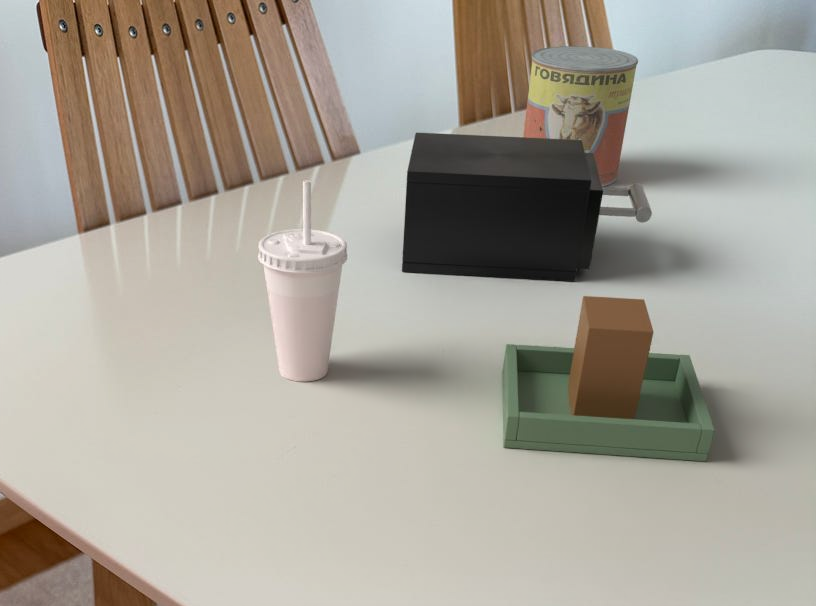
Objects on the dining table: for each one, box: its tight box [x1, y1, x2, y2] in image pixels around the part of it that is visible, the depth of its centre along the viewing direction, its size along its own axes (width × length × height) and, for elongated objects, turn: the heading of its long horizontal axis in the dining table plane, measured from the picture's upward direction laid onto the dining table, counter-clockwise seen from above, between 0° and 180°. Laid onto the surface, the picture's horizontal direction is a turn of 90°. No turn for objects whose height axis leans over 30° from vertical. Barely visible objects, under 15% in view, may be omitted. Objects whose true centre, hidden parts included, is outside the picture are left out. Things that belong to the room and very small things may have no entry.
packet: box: [568, 295, 654, 419], centre depth 73 cm, size 4×6×7 cm
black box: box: [401, 132, 591, 282], centre depth 97 cm, size 16×13×9 cm
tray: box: [502, 343, 715, 462], centre depth 74 cm, size 14×12×2 cm
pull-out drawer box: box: [577, 153, 653, 270], centre depth 97 cm, size 20×12×7 cm, turn 83°
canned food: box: [522, 45, 639, 187], centre depth 116 cm, size 11×11×12 cm
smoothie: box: [257, 179, 348, 382], centre depth 76 cm, size 6×6×14 cm
